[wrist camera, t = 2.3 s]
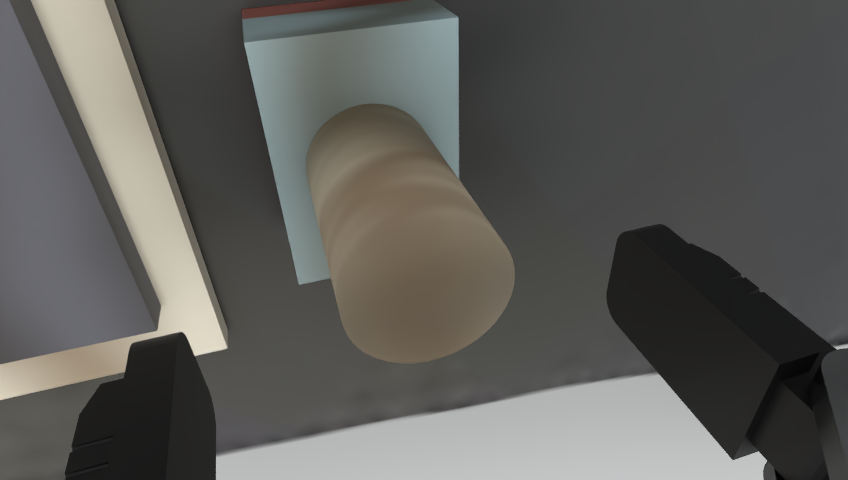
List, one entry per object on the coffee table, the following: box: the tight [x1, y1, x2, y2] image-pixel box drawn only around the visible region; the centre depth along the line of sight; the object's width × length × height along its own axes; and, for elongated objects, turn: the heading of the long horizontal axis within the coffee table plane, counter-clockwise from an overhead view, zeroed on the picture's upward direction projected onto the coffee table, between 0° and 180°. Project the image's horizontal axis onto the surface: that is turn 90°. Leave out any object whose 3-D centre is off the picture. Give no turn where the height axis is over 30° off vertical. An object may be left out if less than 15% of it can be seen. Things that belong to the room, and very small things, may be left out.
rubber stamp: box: [241, 0, 515, 363], centre depth 14 cm, size 5×7×9 cm
